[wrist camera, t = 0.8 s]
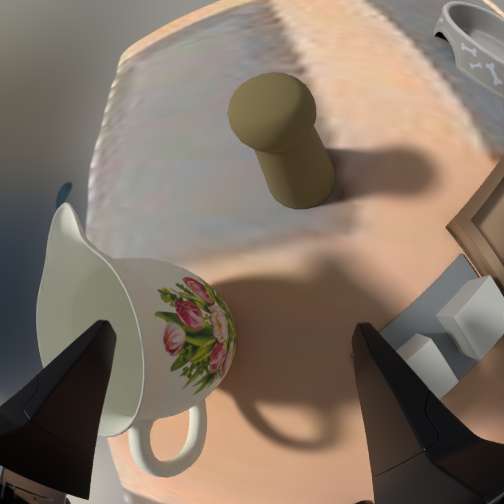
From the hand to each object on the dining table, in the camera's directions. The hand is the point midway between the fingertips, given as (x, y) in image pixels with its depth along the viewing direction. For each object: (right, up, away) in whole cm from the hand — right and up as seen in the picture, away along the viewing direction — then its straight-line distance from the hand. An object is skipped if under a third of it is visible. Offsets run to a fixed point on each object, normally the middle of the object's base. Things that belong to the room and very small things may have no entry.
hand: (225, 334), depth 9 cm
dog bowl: (+33, +28, +9) cm, 44 cm away
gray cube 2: (+17, -2, +7) cm, 19 cm away
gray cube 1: (+13, -6, +8) cm, 16 cm away
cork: (+5, +9, +14) cm, 18 cm away
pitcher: (-4, -5, +15) cm, 16 cm away
